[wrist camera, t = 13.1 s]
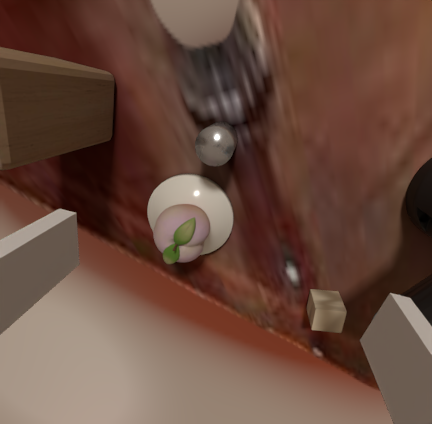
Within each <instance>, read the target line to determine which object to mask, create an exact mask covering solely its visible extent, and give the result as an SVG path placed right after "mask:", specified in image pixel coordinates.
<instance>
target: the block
mask: <svg viewBox="0 0 432 424" xmlns="http://www.w3.org/2000/svg"><path fill="white" fill-rule="evenodd" d="M114 84H115V80H114V76H113V75H112V74H110V73H109V72H107V71H103V70H100V69H96V68H92V67H88V66H84V65H80V64H76V63H73V62H69V61H65V60H61V59H57V58H53V57H47V56H42V55H37V54H32V53H27V52H22V51H17V50H12V49H7V48H2V47H0V170H7V169H11V168H15V167H18V166H22V165H25V164H29V163H32V162H36V161H40V160H43V159H47V158H50V157H54V156H57V155H61V154H64V153H68V152H71V151H75V150H78V149H82V148H85V147H89V146H92V145H96V144H99V143H103V142H106V141H110V139H111V137H112V129H113V107H114Z"/></svg>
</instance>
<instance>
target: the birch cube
mask: <svg viewBox="0 0 432 424" xmlns="http://www.w3.org/2000/svg"><path fill="white" fill-rule="evenodd" d="M307 313H308V317H309V321H310V326H311V330H317V331H326V332H335V333H341V332H342V328H343V325H344V321H345V317H346V313H347V311H346V308H345V306H344V304H343V301H342V299H341V297H340V294H339V292H338V291H327V290H316V289H310V293H309V299H308V304H307Z"/></svg>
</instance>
